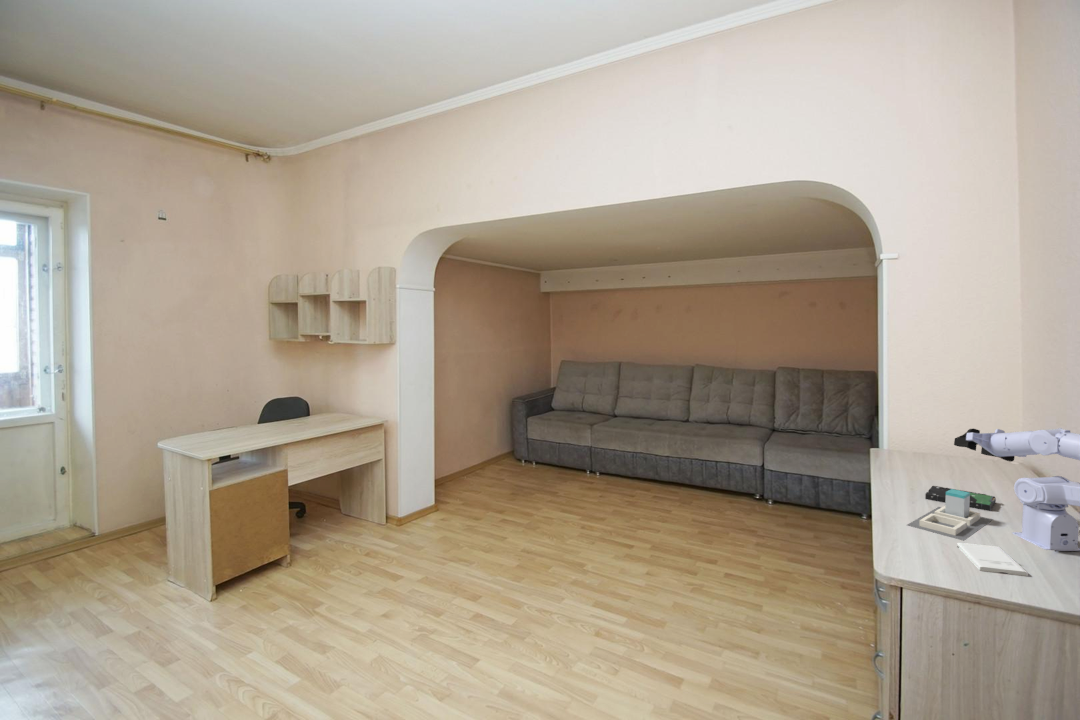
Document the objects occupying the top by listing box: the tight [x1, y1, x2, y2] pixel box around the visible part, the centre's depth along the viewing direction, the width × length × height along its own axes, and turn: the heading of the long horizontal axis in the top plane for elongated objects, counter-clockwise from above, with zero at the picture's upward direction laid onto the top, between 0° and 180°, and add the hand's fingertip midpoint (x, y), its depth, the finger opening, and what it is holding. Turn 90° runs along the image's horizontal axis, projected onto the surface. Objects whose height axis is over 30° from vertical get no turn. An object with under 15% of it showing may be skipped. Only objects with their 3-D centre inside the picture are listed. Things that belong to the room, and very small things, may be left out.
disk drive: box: [925, 485, 997, 512], centre depth 149 cm, size 10×3×15 cm
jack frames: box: [919, 505, 981, 535], centre depth 134 cm, size 17×8×2 cm, turn 124°
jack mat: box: [906, 506, 994, 541], centre depth 134 cm, size 21×12×1 cm, turn 124°
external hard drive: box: [956, 542, 1029, 577], centre depth 114 cm, size 2×8×12 cm
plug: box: [944, 488, 971, 518], centre depth 137 cm, size 4×4×7 cm
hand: (969, 446), depth 141 cm, fingers open, 7 cm apart
